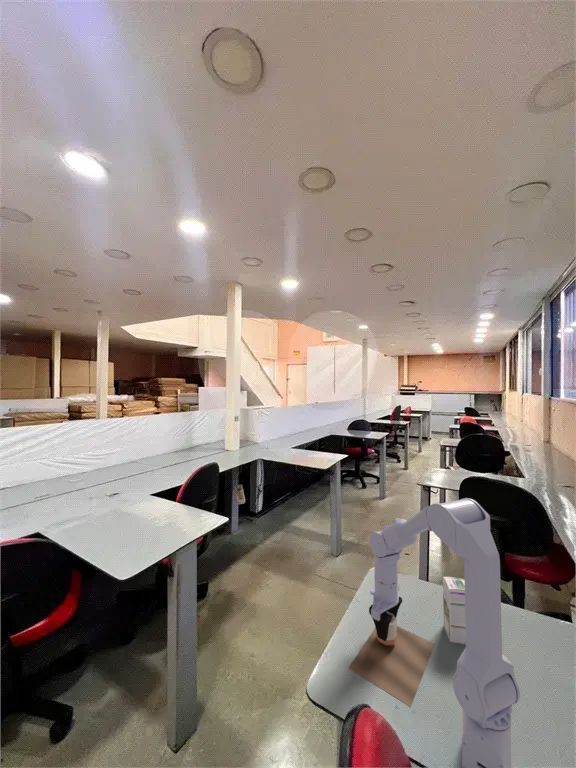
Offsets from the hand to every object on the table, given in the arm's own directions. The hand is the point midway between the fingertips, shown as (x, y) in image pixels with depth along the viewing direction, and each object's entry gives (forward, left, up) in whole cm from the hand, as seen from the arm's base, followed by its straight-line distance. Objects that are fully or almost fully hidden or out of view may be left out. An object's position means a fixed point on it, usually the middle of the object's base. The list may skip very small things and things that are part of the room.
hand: (386, 631), depth 79 cm
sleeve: (0, 0, -1) cm, 1 cm away
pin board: (-3, -3, -3) cm, 5 cm away
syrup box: (+14, -14, -4) cm, 20 cm away
